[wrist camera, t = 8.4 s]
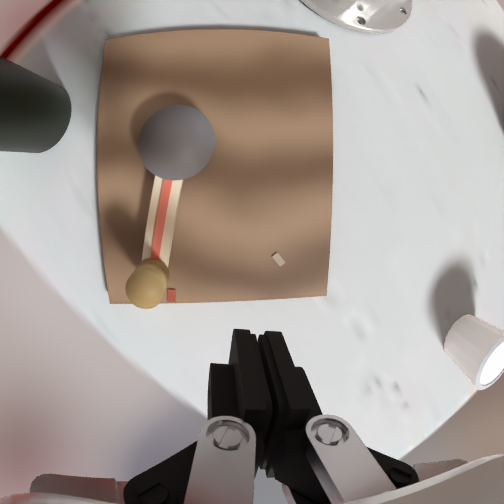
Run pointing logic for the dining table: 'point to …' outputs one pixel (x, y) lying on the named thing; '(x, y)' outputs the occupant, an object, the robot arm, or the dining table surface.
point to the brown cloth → (222, 162)
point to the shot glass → (476, 350)
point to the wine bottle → (30, 110)
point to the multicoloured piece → (167, 190)
